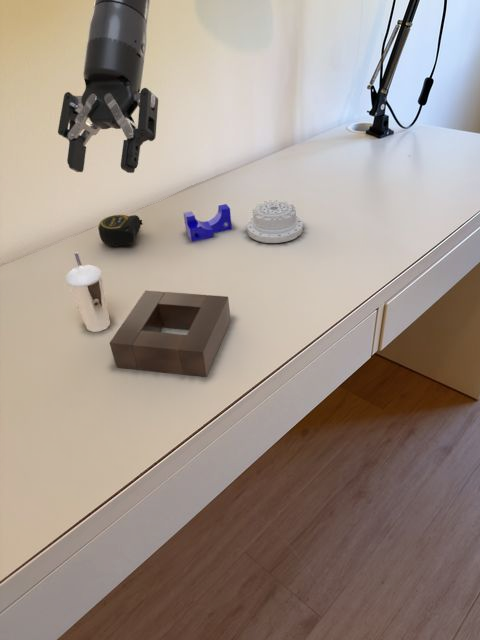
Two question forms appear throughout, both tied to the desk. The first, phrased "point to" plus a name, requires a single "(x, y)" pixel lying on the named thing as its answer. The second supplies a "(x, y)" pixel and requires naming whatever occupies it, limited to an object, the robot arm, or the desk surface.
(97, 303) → the milkshake
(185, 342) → the socket block
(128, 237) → the tape measure
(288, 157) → the desk surface
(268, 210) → the mechanical component
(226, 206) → the cable holder
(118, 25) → the robot arm
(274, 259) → the desk surface
